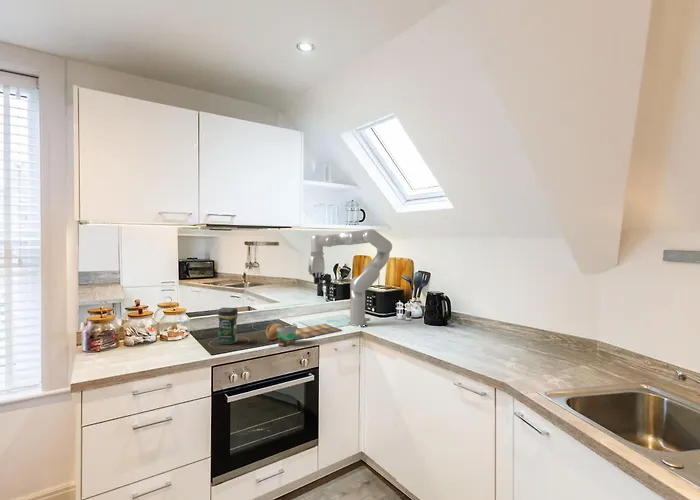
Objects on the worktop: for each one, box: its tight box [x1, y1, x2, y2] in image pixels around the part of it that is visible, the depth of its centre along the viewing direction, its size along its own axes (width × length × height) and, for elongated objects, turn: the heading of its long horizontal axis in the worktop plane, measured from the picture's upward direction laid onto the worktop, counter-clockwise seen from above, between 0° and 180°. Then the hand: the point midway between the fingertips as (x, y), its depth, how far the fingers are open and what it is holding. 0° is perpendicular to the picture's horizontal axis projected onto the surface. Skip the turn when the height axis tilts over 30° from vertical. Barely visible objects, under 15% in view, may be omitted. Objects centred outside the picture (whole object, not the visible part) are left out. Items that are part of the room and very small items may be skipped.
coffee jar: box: [217, 307, 239, 345], centre depth 189 cm, size 10×8×19 cm
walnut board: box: [297, 326, 343, 339], centre depth 208 cm, size 26×8×2 cm, turn 131°
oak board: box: [296, 323, 333, 336], centre depth 214 cm, size 26×8×2 cm, turn 131°
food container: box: [277, 322, 298, 348], centre depth 186 cm, size 12×6×10 cm, turn 143°
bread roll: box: [265, 322, 285, 341], centre depth 199 cm, size 10×15×8 cm, turn 171°
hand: (316, 283), depth 227 cm, fingers closed
